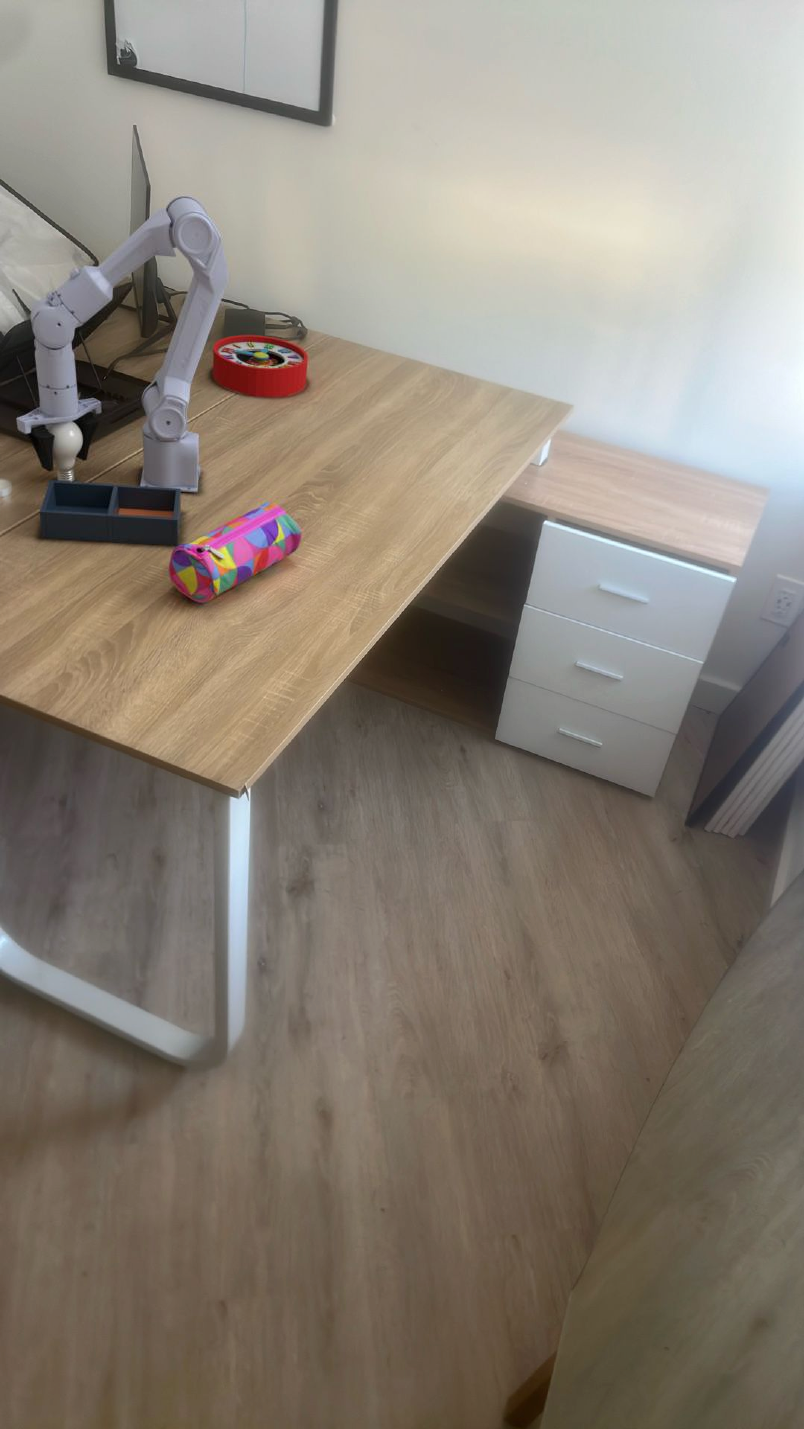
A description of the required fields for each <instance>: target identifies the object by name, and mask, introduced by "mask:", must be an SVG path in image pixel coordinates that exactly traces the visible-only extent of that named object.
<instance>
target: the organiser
mask: <svg viewBox="0 0 804 1429" xmlns="http://www.w3.org/2000/svg"><path fill="white" fill-rule="evenodd" d="M181 497H182V493H181V489H178V488H162V487H147V486H140V485H130V484H118V483H117V484H114V483H102V482H88V481H87V482H86V481H85V482H84V481H59V480H58V479H55V480H54V479H49V482H48V484H47V488H46V491H45V493H44V497H43V499H42V502H41V503H42V504H41V506H40V509H39V518H40V520H39V521H40V529H41V537H42V539H50V540H51V539H53V540H70V541H87V542H88V541H89V542H107V543H124V544H125V543H126V544H142V545H143V544H144V545H161V546H176V547H177V546H179V537H180V528H181V527H180V526H181V518H182V517H181V516H182V500H181V499H182V498H181Z"/></svg>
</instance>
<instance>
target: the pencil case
mask: <svg viewBox="0 0 804 1429" xmlns="http://www.w3.org/2000/svg"><path fill="white" fill-rule="evenodd" d="M301 540H302V530H301V527H300V525H299V523H298V522H297V521H296V520H295V519H293V518H292V517H291V516H290V515H289V514H288V513H287V512H286V511H285V509H284V508H283V507H280V506H279V505H277V504H276V503H274V502H271V501H266V502H264V503H262V504H260V505H259V506H258V507H257V508H255V509H253V510H250V511H248V512H246V513H244V514H243V515H241V516H238V517H236V518H234V519H232V520H230V521H229V522H227V523H224V524H223V525H221V526H219V527H217V528H215V529H213V530H211V531H210V532H208V533H206V534H204V535H202V536H200V537H199V538H197V539H196V540H194V541H192V542H189V543H184V544H180V545H179V544H178V546H177V545H176V547H175V548H173V550H172V552H171V555H170V558H169V563H168V574H169V579H170V581H171V583H172V584H173V585H174V587H175V588H176V589H177V591H178V592H180V593H181V594H183V595H184V596H186V597H187V598H189V599H190V600H191V601H194V602H196V603H200V604H205V603H208V602H210V601H212V599H213V598H215V597H218V596H219V595H220V594H223V593H224V592H226V591H228V590H230V589H231V588H234V587H236V586H239V585H240V584H242V583H244V582H245V581H248V580H249V579H250V578H252V577H254V576H256V575H257V574H258V573H259V572H262V571H265V570H267V569H268V568H269V567H271V566H273V564H276V563H278V562H280V561H281V560H283V559H285V558H287V557H289V556H290V555H292V554H293V553H294V552H296V551H297V550H298V549H299V546H300V543H301Z"/></svg>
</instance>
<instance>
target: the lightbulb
mask: <svg viewBox="0 0 804 1429" xmlns="http://www.w3.org/2000/svg"><path fill="white" fill-rule="evenodd" d="M46 429H48V432H49V433H51V434H53V435H54V436H55V438H54V442H53V464H54V465H55V467H56V474H57V475H56V477H57V481H72V482H75V470H74V469H75V468H74V466H75V465H76V464H75V463H76V458H77V457H76V456H77V454H78V453H79V451H80V449H81V447H82V444H83V436H82V432H81V430H80V428H79V427H78V426H77V425H76V424H75V423H74V422H73V421H69V422H60V423H55V424H52V425H48V426H46Z"/></svg>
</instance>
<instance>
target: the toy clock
mask: <svg viewBox="0 0 804 1429" xmlns="http://www.w3.org/2000/svg"><path fill="white" fill-rule="evenodd" d="M308 357H309V356H308V353H307V352H306V351H305V350H304V349H303V348H302V347H300V346H299V345H298V344H294V343H293V342H290V341H287V340H284V339H280V338H277V337H271V336H266V335H265V336H264V335H256V334H255V335H253V334H244V335H243V334H242V335H241V334H240V335H231V336H227V337H224V338H221V339H219V340H217V341H216V342H215V343H214V344H213V348H212V377H213V380H214V381H215V383H217V384H218V385H219V386H221V387H223V388H224V389H226V390H228V391H232V392H233V393H237V394H242V395H245V396H251V397H258V398H282V397H288V396H293V395H296V394H298V393H300V392H302V391H303V390H304V389H305V388H306V385H307V376H308V375H307V373H308V361H309V360H308V359H309V358H308Z"/></svg>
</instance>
